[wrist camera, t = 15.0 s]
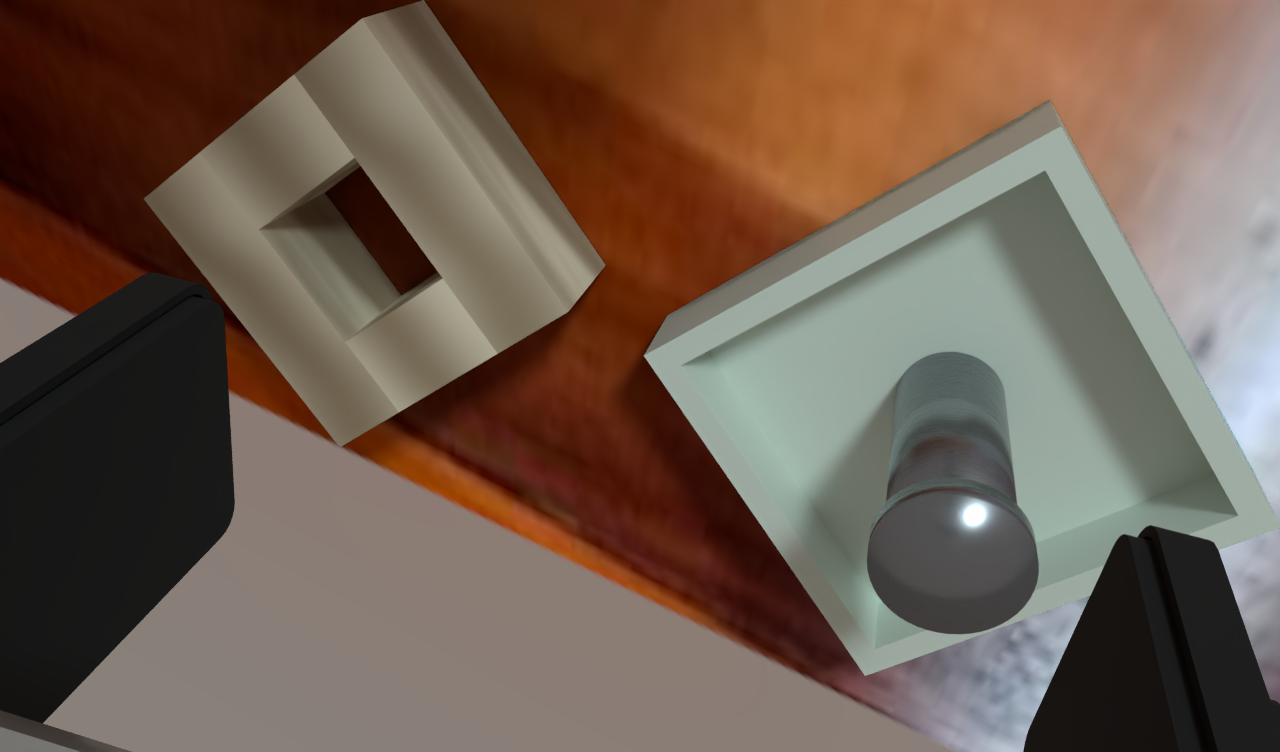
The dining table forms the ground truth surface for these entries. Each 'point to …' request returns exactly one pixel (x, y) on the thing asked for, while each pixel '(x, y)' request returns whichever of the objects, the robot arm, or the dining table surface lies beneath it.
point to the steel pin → (952, 503)
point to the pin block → (418, 194)
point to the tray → (972, 324)
